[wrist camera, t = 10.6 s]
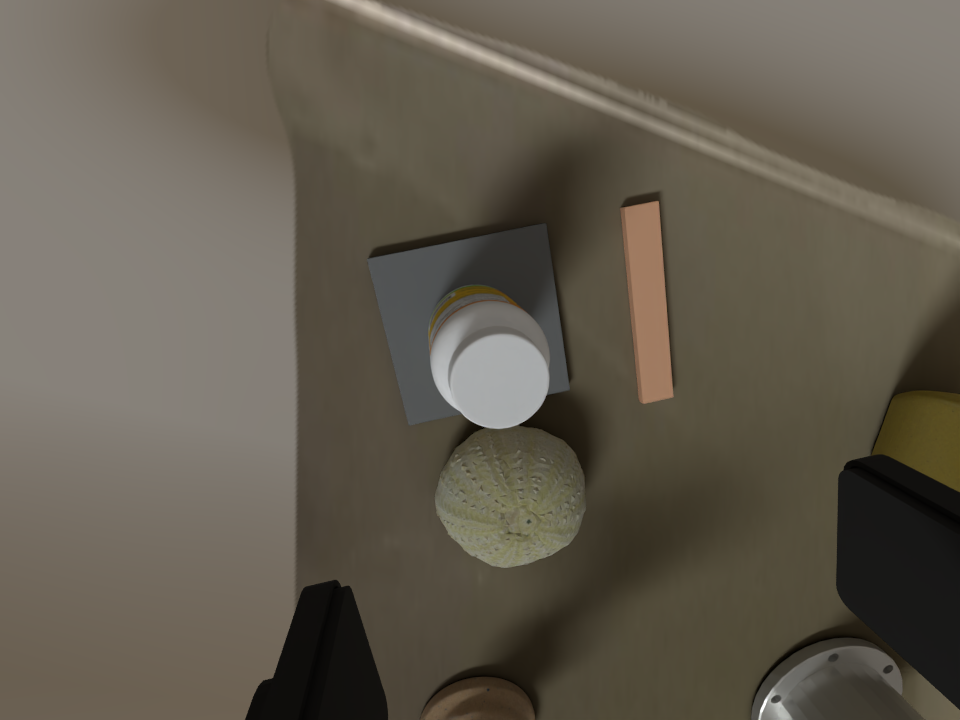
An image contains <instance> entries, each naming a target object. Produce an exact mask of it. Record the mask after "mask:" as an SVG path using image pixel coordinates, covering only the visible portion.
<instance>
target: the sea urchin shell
mask: <svg viewBox="0 0 960 720" xmlns="http://www.w3.org/2000/svg"><path fill="white" fill-rule="evenodd" d="M584 479H585V476H584V474H583V470H582V469H581V465H580V464H579V461H578V459H577V456H576V453H574V451H573V450H572V449H571V448H570V447H569V446H568V445H567V443H566V442H565V441H564V440H563V439H560V438H557V437H555V436H553V435H551V434H549V433H547V432H545V431H543V430H542V429H540V430H539V429H538V428H533V427H530V428H527V427H523V426H519V425H516V426H513V427H509V428H503V429H494V428H484V429H481V430H479V431H477V432H474V434H472V435H470V436H469V437H468V438H467V439H466V440H465V441H464V442H463V443H462V444H461V445H460V446H458V447H456V448H455V450H454V452H453V453H452V455H451V457H450V458H449V460H448V462H447V463H446V465H445V467H444V469H443V470H442V472H441V474H440V480H439V483H438V487H437V490H436V494H435V496H434V497H435V503H436V511H437V515H438V517H440V520H441V521H442V523H443V524H444V526H445V527H446V529H447V531H448V535H451V538H453V539H454V540H456V541H457V542H458V543H459V544H460V545H461V546H462V547H463V549H464V551H467V552H468V554H471V556H475V557H477V558H479V559H481V560H483V561H484V562H486V563H488V564H490V565H491V566H498V567H503V568H504V567H505V568H508V567H513V566H518V565H523V564H526V565H528V564H529V563H531V562H534V561H536V560H539V559H541V558H545V557H547V556H551V555H552V554H554V553H555V552H557V551H558V550H560V549H561V548H563V547H565V546H567V545H569V544H570V542H571V541H572V540H573V538H574V537H575V535H576V534H578V532H579V528H580V525H581V522H582V518H583V514H584V512H585V510H586V498H585V480H584Z"/></svg>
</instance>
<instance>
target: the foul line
mask: <svg viewBox="0 0 960 720" xmlns="http://www.w3.org/2000/svg"><path fill="white" fill-rule="evenodd" d="M620 210H621V220H622V231H623V241H624V251H625V261H626V272H627V282H628V292H629V303H630V313H631V323H632V333H633V344H634V354H635V364H636V375H637V385H638V395H639V401H640V402H641V403H643V404H645V403H649V402H654V401H658V400H663V399H667V398H672V397H673V386H672V372H671V359H670V346H669V332H668V319H667V305H666V292H665V279H664V265H663V252H662V239H661V225H660V212H659V201H652V202H647V203H642V204H637V205H632V206H627V207H622V208H620Z"/></svg>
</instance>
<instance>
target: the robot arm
mask: <svg viewBox="0 0 960 720" xmlns="http://www.w3.org/2000/svg"><path fill="white" fill-rule="evenodd" d="M836 586H837V591H838V594H839V596H840V598H841V600H842V601H843V603H844V604H845V605H846V606H847V607H848V608H849V609H850V610H851V611H852V612H853V613H854V614H855V615H856V616H857V617H859V618H860V619H861V620H862V621H863V622H864V623H865V624H866V625H867V626H868V627H870V628H871V629H872V630H873V631H874V632H875V633H876V634H877V635H878V636H879V637H880V638H882V639H883V640H884V641H885V642H886V643H887V644H888V645H889V646H890V647H891V648H893V649H894V650H895V651H896V652H897V653H898V654H899V655H900V656H901V657H902V658H903V659H905V660H906V661H907V662H908V663H909V664H910V665H911V666H912V667H913V668H914V669H916V670H917V671H918V672H919V673H920V674H921V675H922V676H923V677H924V678H925V679H927V680H928V681H929V682H930V683H931V684H932V685H933V686H934V687H935V688H936V689H937V690H939V691H940V692H941V693H942V694H943V695H944V696H945V697H946V698H947V699H948V700H950V701H951V702H952V703H953V704H954V705H955V706H956V707H957V708H958V709H959V710H960V492H958V491H956V490H954V489H952V488H950V487H948V486H946V485H944V484H942V483H941V482H939V481H937V480H935V479H933V478H931V477H929V476H927V475H925V474H923V473H921V472H919V471H917V470H915V469H913V468H911V467H909V466H907V465H905V464H903V463H901V462H899V461H897V460H895V459H893V458H891V457H889V456H886V455H883V454H877V455H872V456H868V457H864V458H859V459H855V460H851V461H849V462H847V463H846V465H845V466H844V471H842V472H841V473H840V474H839V478H838V524H837V574H836ZM901 695H902V677H901V673H900V670H899V668H898V666H897V665H896V663H895V662H894V660H893V659H892V658H891V657H889V656H888V655H887V654H886V653H885V652H884V651H883V650H882V649H881V648H879V647H878V646H876V645H875V644H873V643H871V642H868V641H865V640H862V639H856V638H834V639H829V640H825V641H820V642H817V643H815V644H812V645H809V646H807V647H805V648H803V649H801V650H799V651H797V652H796V653H794V654H792V655H791V656H790V657H788V658H787V659H785V660H784V661H783V662H781V663H780V664H779V665H778V666H777V667H776V668H775V669H774V670H773V671H772V672H771V673H770V674H769V676H768V677H767V678H766V679H765V681H764V682H763V683H762V685H761V687H760V689H759V691H758V692H757V694H756V697H755V700H754V703H753V707H752V716H751V720H925V719H924V718H923V717H922V716H921V715H920V714H919V713H918V712H917V711H916V710H915V709H914V708H913V707H912V706H911V705H910V704H909V703H908V702H907V701H906V700H905V699H904V698H903V697H902V696H901ZM245 720H388V709H387V701H386V697H385V693H384V690H383V687H382V684H381V680H380V677H379V674H378V671H377V668H376V665H375V661H374V658H373V655H372V652H371V649H370V646H369V642H368V639H367V636H366V633H365V630H364V627H363V624H362V620H361V617H360V614H359V611H358V608H357V605H356V601H355V598H354V595H353V592H352V589H351V588H350V586H344V587H341V585H340V583H339V582H338V581H337V580H332V581H328V582H324V583H320V584H315V585H311V586H307V587H305V588H303V590H302V592H301V595H300V598H299V601H298V604H297V607H296V610H295V613H294V616H293V619H292V622H291V626H290V629H289V632H288V635H287V638H286V641H285V644H284V647H283V650H282V653H281V656H280V659H279V662H278V665H277V668H276V671H275V674H274V677H273V678H272V679H268V680H264V681H263V682H262V683H261V684H260V685H259V686H258V688H257V690H256V692H255V694H254V696H253V699H252V702H251V705H250V708H249V710H248V713H247V716H246V719H245Z"/></svg>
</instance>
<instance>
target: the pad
mask: <svg viewBox="0 0 960 720" xmlns="http://www.w3.org/2000/svg"><path fill="white" fill-rule="evenodd" d="M367 261H368V265H369V269H370V273H371V277H372V281H373V285H374V289H375V293H376V297H377V301H378V305H379V309H380V313H381V317H382V321H383V325H384V329H385V333H386V337H387V341H388V345H389V349H390V353H391V357H392V361H393V365H394V369H395V372H396V376H397V380H398V384H399V388H400V392H401V396H402V400H403V404H404V408H405V412H406V416H407V420H408V424H409V425H413V424H418V423H422V422H427V421H431V420H436V419H440V418H445V417H450V416H454V415H459V414H462V413H461V412H460V411H458V410H457V409H455V408H454V407H453V406H451V405H450V404H449V403H448V402H447V401H446V400H445V399H444V398H443V396H442V395H441V394H440V392H439V390H438V388H437V387H436V384H435V382H434V379H433V375H432V370H431V363H430V350H429V338H428V328H429V322H430V318H431V315H432V313H433V311H434V309H435V307H436V306H437V304H438V303H439V302H440V301H441V299H443V298H444V297H445V296H446V295H447V294H449V293H450V292H452V291H453V290H455V289H457V288H460V287H463V286H467V285H485V286H489V287H492V288H495V289H497V290H499V291H501V292H503V293H504V294H506V295H507V296H508V297H509V298H511V299H512V300H513V301H514V302H515V303H516V304H517V305H519V306H520V307H521V308H522V309H523V310H524V311H526V312H527V313H528V314H529V315H530V316H531V317H532V318H533V319H534V320H535V321H536V322H537V324H538V325H539V326H540V328H541V329H542V331H543V333H544V335H545V337H546V339H547V343H548V346H549V353H550V364H549V376H550V380H549V388H548V392H547V395H549V394H554V393H558V392H563V391H567V390H570V388H569V381H568V373H567V366H566V359H565V352H564V345H563V338H562V331H561V324H560V317H559V310H558V303H557V296H556V288H555V281H554V274H553V267H552V260H551V253H550V246H549V239H548V232H547V225H546V223H542V224H537V225H532V226H527V227H522V228H517V229H512V230H507V231H502V232H497V233H492V234H487V235H482V236H477V237H472V238H467V239H462V240H457V241H452V242H447V243H442V244H437V245H432V246H427V247H422V248H417V249H412V250H407V251H402V252H397V253H392V254H387V255H382V256H377V257H372V258H368V259H367Z"/></svg>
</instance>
